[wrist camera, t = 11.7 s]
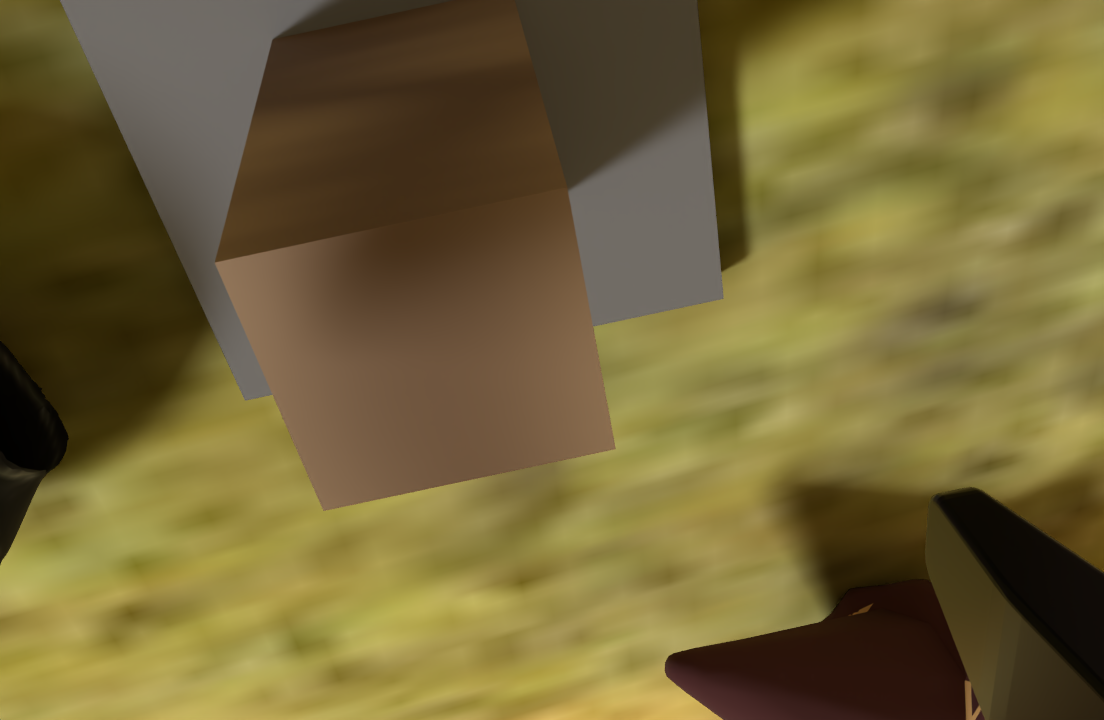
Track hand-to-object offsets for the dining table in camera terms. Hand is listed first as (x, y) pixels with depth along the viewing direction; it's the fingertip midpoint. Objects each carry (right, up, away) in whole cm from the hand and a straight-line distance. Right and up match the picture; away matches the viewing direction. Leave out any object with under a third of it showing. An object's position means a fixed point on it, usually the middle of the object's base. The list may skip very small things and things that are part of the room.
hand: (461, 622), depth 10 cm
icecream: (+9, -5, +20) cm, 23 cm away
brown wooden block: (-1, +7, +9) cm, 11 cm away
